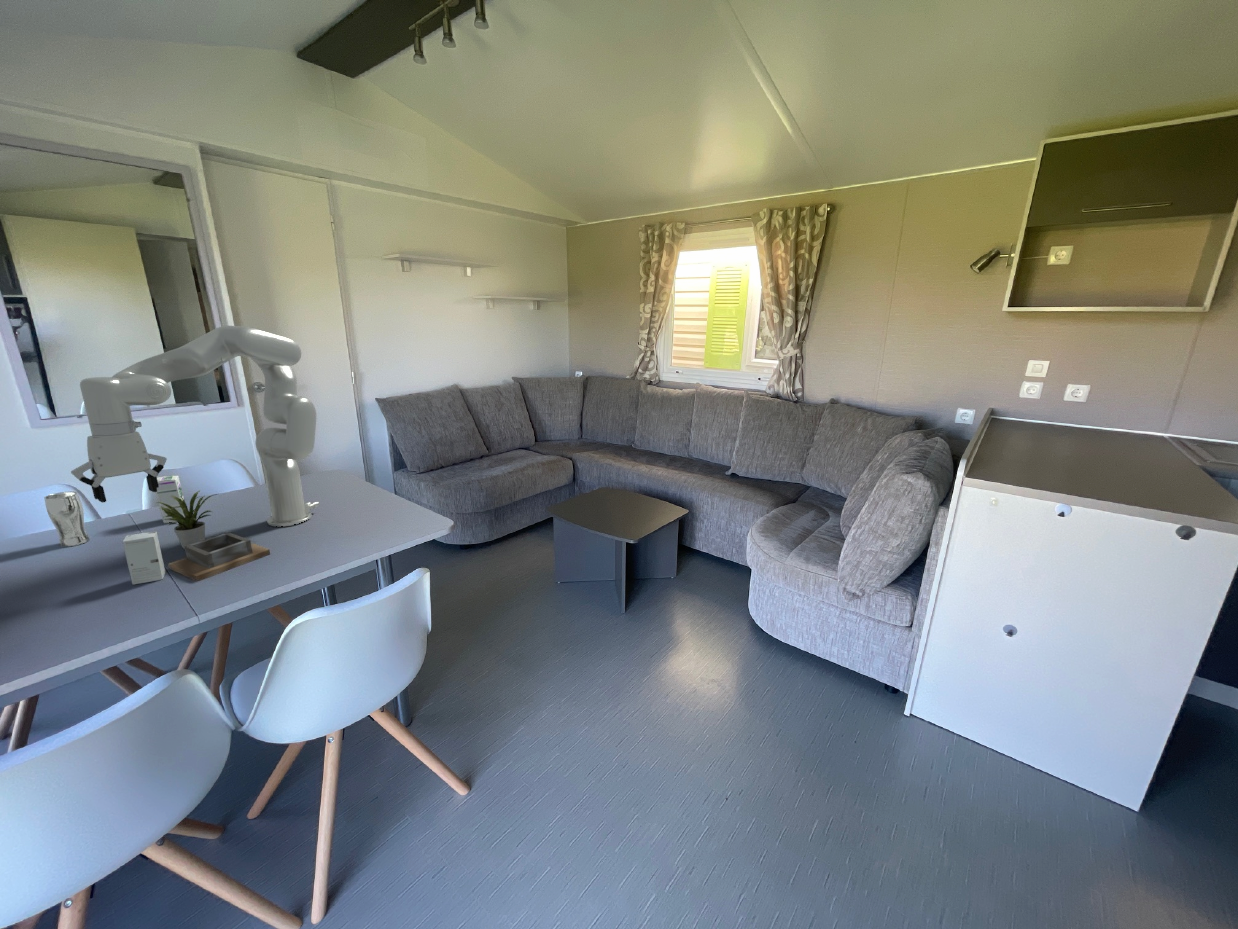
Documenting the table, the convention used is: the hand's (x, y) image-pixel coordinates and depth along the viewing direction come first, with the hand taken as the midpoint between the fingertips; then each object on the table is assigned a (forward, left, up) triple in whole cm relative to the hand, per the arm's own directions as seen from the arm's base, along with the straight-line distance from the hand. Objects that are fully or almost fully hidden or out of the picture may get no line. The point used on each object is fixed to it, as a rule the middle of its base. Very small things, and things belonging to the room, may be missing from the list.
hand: (128, 496), depth 125 cm
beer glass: (+1, -42, -22) cm, 47 cm away
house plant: (-16, -11, -22) cm, 30 cm away
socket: (-13, +7, -22) cm, 27 cm away
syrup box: (-22, -38, -22) cm, 49 cm away
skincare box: (+1, +2, -22) cm, 23 cm away
